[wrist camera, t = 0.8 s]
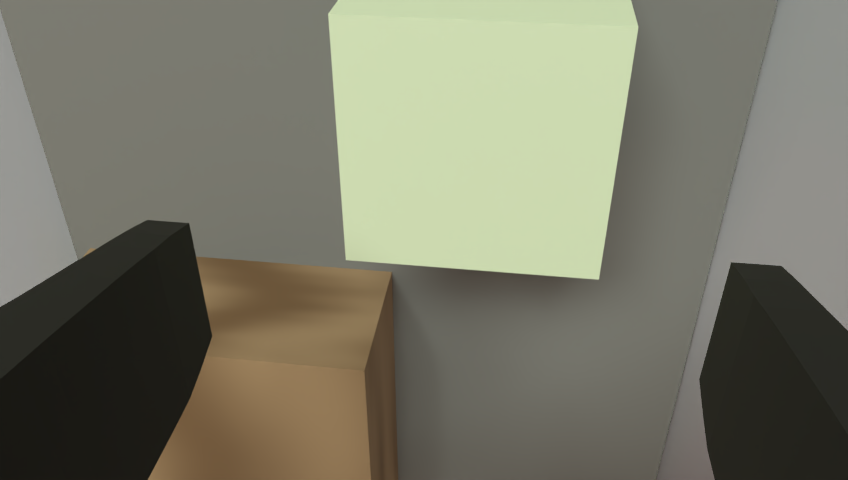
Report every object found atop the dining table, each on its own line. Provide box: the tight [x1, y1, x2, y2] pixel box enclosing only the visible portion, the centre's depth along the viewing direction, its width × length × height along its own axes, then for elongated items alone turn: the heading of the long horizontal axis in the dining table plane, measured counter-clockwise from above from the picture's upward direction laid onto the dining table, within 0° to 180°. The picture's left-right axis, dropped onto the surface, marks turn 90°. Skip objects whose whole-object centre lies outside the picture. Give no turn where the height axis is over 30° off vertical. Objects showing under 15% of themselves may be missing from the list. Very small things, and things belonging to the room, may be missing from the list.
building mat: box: [0, 0, 778, 480], centre depth 22 cm, size 18×20×1 cm
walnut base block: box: [83, 248, 398, 480], centre depth 23 cm, size 9×9×4 cm
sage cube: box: [328, 0, 638, 280], centre depth 16 cm, size 5×5×5 cm
